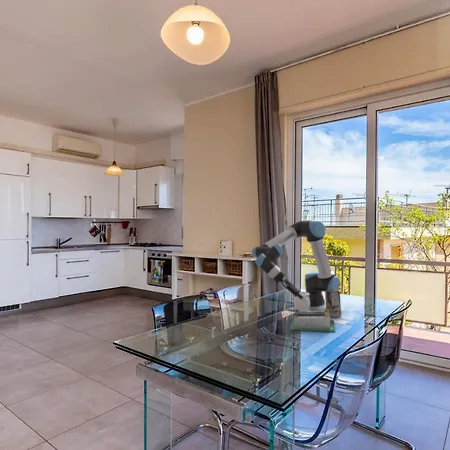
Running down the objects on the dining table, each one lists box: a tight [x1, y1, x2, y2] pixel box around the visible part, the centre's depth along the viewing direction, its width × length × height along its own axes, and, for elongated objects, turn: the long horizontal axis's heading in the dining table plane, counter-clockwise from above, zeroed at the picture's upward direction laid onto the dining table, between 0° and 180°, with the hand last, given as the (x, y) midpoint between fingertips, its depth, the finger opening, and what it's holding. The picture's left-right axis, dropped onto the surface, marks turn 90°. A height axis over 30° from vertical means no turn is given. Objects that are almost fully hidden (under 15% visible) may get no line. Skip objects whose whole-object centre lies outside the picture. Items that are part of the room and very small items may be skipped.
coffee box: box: [324, 289, 342, 318], centre depth 228 cm, size 9×6×16 cm
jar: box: [292, 291, 311, 312], centre depth 230 cm, size 11×10×15 cm
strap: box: [295, 311, 325, 316], centre depth 208 cm, size 18×5×1 cm, turn 74°
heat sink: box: [289, 308, 336, 333], centre depth 208 cm, size 25×20×9 cm
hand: (306, 301), depth 209 cm, fingers closed
